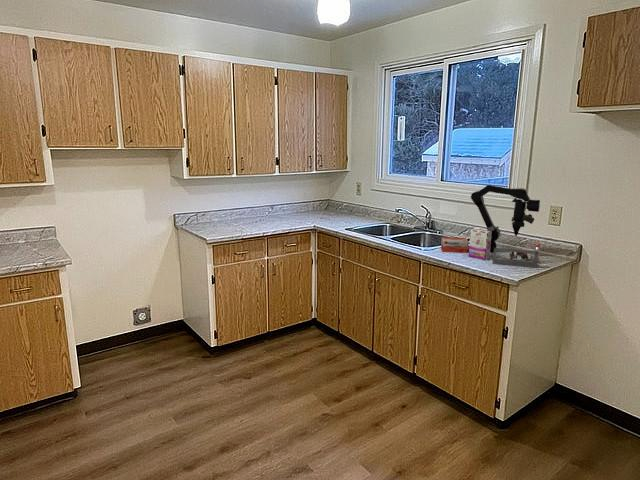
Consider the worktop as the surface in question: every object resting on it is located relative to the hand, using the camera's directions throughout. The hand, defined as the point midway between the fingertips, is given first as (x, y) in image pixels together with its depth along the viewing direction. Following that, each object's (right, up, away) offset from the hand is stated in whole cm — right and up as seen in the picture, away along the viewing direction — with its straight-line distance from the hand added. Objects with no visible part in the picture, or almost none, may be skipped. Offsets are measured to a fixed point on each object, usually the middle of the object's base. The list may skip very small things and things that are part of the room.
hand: (515, 235), depth 253 cm
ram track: (+6, -14, -10) cm, 18 cm away
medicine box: (-34, -10, +11) cm, 37 cm away
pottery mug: (-3, -15, -12) cm, 19 cm away
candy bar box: (-24, -13, -4) cm, 28 cm away
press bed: (-10, -16, -19) cm, 26 cm away
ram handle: (+5, -15, -14) cm, 21 cm away
